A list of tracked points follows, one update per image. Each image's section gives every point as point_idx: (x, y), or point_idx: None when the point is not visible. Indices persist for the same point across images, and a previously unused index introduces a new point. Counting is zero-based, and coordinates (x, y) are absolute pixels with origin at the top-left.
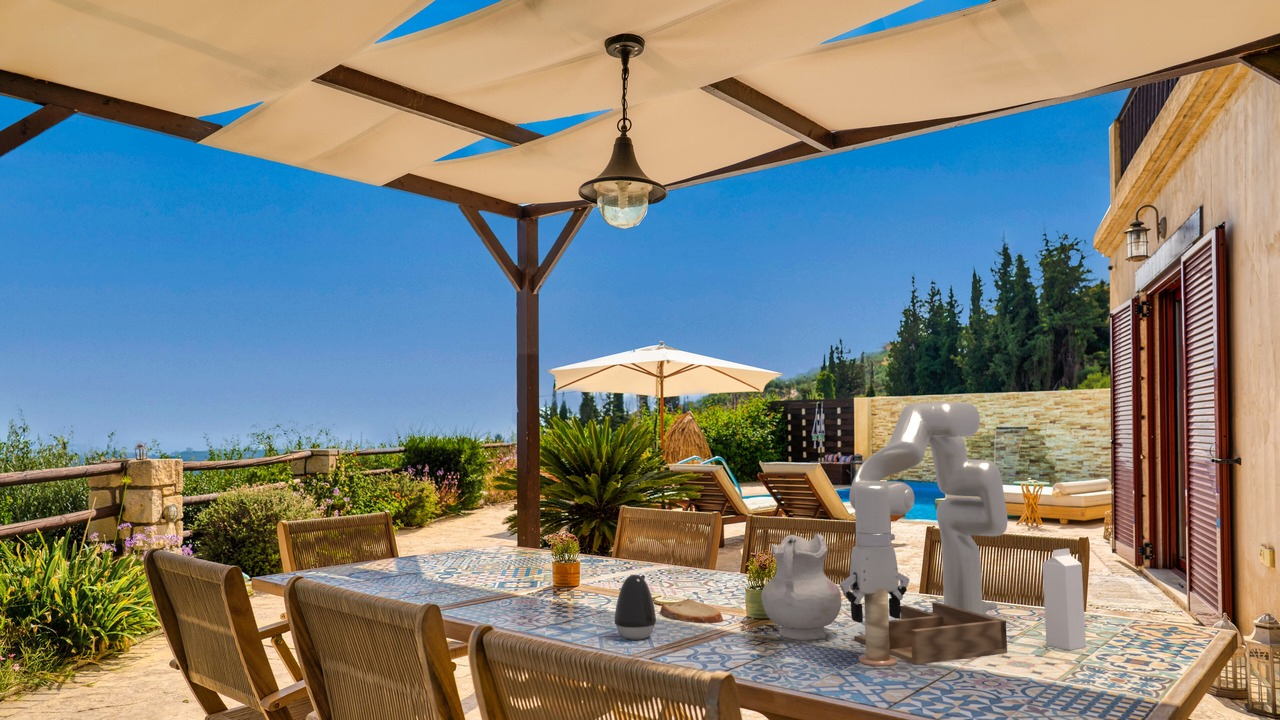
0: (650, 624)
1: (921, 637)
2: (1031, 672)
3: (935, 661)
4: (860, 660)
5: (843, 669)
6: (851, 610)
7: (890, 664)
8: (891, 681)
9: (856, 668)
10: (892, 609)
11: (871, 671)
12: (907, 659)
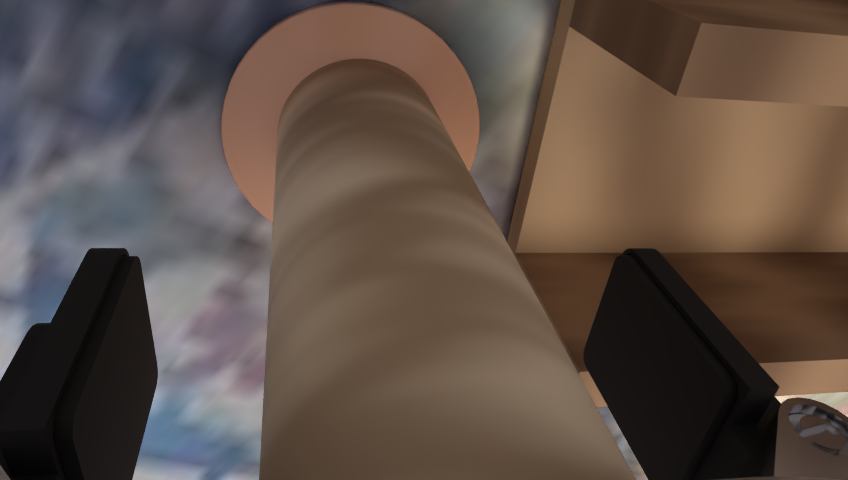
0: None
1: None
2: None
3: None
4: (223, 111)
5: (13, 195)
6: (4, 388)
7: None
8: (184, 432)
9: (119, 208)
10: (636, 354)
11: (180, 286)
12: (518, 206)
